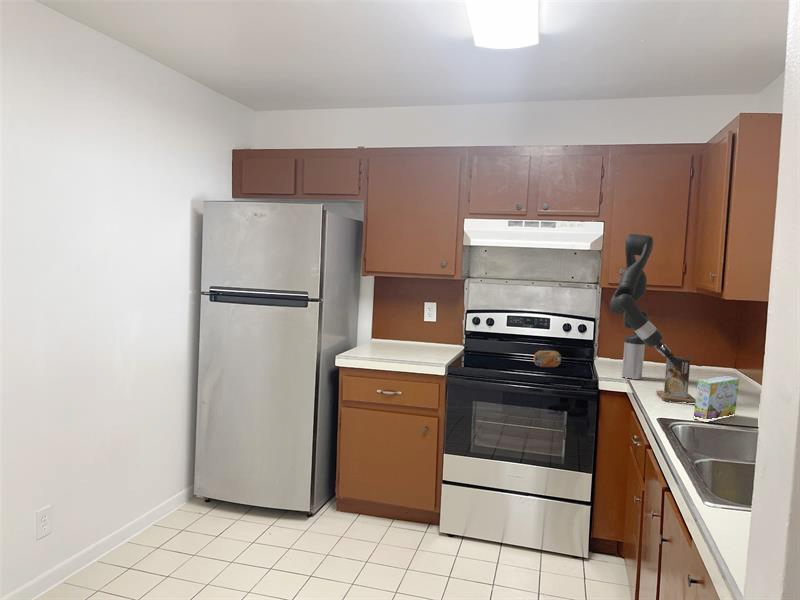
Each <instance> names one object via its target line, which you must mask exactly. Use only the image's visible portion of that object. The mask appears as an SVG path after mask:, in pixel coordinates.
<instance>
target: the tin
mask: <svg viewBox="0 0 800 600" xmlns="http://www.w3.org/2000/svg"><path fill="white" fill-rule="evenodd" d="M561 362H562V356H561V353H559V351H557V350H537V352H535V353H534V355H533V363H534V364H535V366H537V367H540V368H557V367H558V366H559V365H561Z"/></svg>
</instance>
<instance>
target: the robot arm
mask: <svg viewBox="0 0 800 600" xmlns="http://www.w3.org/2000/svg"><path fill="white" fill-rule="evenodd" d="M624 244H625V246H624V247H625V249H624V250H625V252H624V253H625V270H624V271H623V273H622V274H621V276H620V280H619V284H618V287H617V289H616V290H615V291H614V293H613V295H612V297H611V299H610V302H609V308H610V310H611V312H612V313H613V314H615V315H621V314H623V318H622V321H623V322H622V323H623V327H624V328H626V329H630V330H631V329H632V331H634V332H635V333H634V334H630V335H626V336H625V337H624V344H623V346H624V347H623V357H622V367H621V368H622V369H621V377H622V376H623V377H627V378H632V379H631V380H633V379H641V380H642V379H643V369H644V358H645V346H647V347H648V348H652V347H654V349H655V350H656V351H657V352H658V353H659V354H660V355H662V356H663V357H665V359H666V360H667V359H669V360H670V361H671V362H672V363H673V364H674V366H677V365H678V364H679V362H678V360H677V359H676V358H675V357H676V356H675V355H674V353H672V352H671V349H670V348H669V347H667V345H666V344H665V343H664V342H661V340H662V339H663V338H664V335H663V334H662V333H661V332H660V331H659V330H658V329H657V327H656V326H655V325H654V324H653V323H652V322H650V320H649V314H648V312H647V310H642V309H640V307H639V305H638V304H637V302H638V301H639V300H640V299H642V297H643V295H644V294H645V293H646V290H647V282H648V281H647V275H646V273H645V272H644V269H645V267H646V264H647V263H648V260H649V259H650V257H651V256H650V255H651V253H652V251H653V247H654V239H653V236H651V235H646V234H645V235H644V234H638V233H630V234H628V235H627V237H626V239H625V243H624ZM636 256H638V258H636ZM662 341H663V340H662ZM623 377H622V378H623ZM627 378H626V379H627Z"/></svg>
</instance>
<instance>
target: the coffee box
mask: <svg viewBox="0 0 800 600" xmlns="http://www.w3.org/2000/svg"><path fill="white" fill-rule="evenodd" d="M674 357H675V358H676V359H677V360H678V362H679V364H678V365H677V366H674V364H673V363H672V362H671V361H670V360H669V359H667V358H666V361H665V362H666V363H665V374H664V384H663V385H664V386H663V391H664V396H672V397H679V398H687V396H688V394H689V380H690V368H691V366H690V365H691V359H690V358H689V357H680V356H674Z"/></svg>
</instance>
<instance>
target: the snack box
mask: <svg viewBox="0 0 800 600" xmlns="http://www.w3.org/2000/svg"><path fill="white" fill-rule="evenodd" d="M739 383H740V378H738V377H733V376H727V375H724V376H716V377H711V378H704V379H698V380H697V385H696V386H697V387H696V395H695V399H696V402H695V405H694V411H693V417H694V416H695V417H699V418H703V419H712V418H718V417H723V416H729V415H733V414H735V415H736V408H737V401H738V393H739V385H740V384H739Z"/></svg>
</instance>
